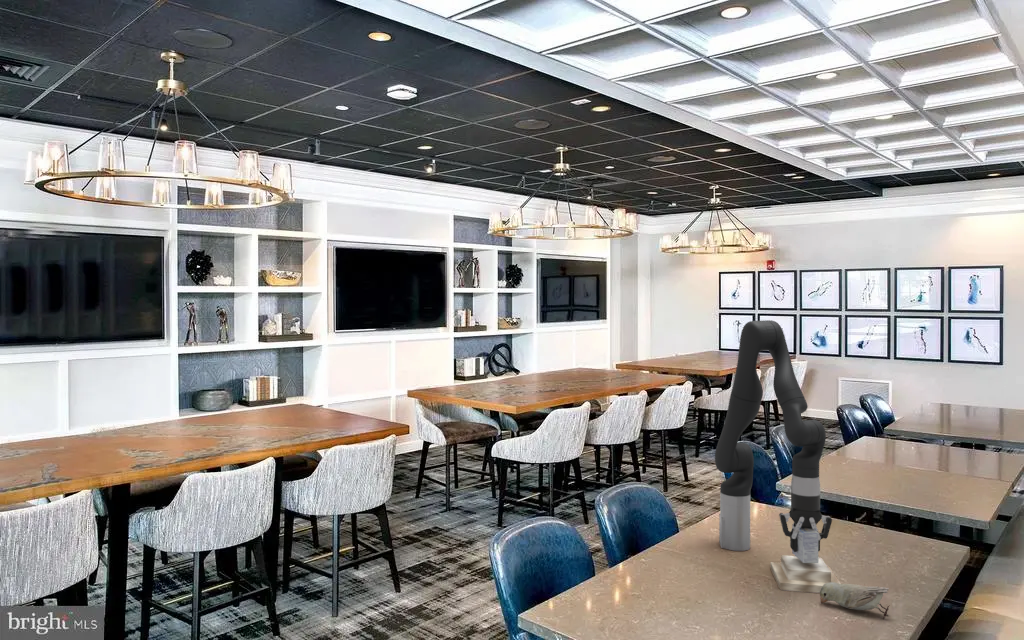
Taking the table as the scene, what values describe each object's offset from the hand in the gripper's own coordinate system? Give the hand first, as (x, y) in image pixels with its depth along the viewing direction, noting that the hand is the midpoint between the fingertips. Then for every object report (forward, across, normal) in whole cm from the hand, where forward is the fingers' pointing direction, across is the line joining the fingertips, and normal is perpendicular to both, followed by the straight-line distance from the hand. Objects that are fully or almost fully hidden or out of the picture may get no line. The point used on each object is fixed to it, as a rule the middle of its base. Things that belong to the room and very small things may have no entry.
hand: (805, 551), depth 196 cm
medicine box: (+2, 0, 0) cm, 2 cm away
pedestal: (+8, 0, 0) cm, 8 cm away
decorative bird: (+9, +8, -18) cm, 21 cm away
